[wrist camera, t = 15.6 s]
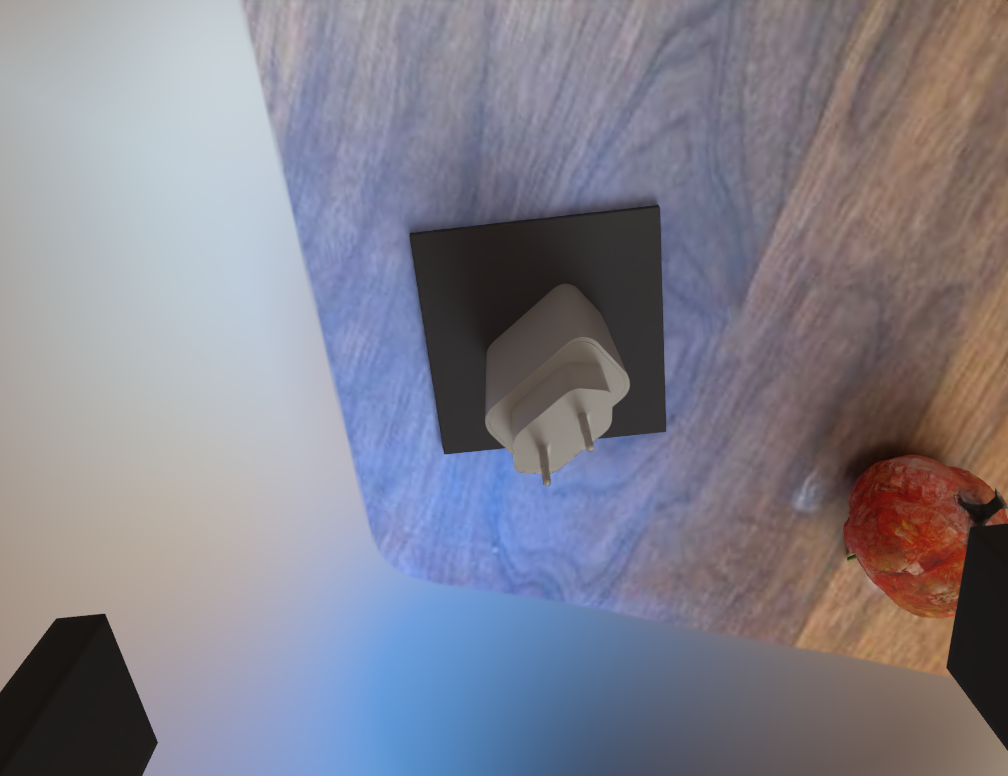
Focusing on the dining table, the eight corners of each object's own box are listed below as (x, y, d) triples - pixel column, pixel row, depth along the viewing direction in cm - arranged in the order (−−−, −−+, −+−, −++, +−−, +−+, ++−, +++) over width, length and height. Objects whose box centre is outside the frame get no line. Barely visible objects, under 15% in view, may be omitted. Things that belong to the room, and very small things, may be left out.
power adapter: (611, 324, 35) (665, 446, 24) (524, 398, 37) (537, 544, 26) (566, 276, 34) (602, 380, 23) (479, 354, 36) (473, 486, 25)
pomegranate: (905, 535, 43) (1081, 481, 35) (891, 657, 39) (1086, 628, 31) (800, 469, 42) (955, 397, 34) (775, 587, 38) (943, 537, 30)
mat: (410, 232, 34) (409, 234, 33) (658, 204, 33) (659, 206, 33) (444, 450, 38) (444, 454, 38) (664, 428, 38) (666, 431, 37)
